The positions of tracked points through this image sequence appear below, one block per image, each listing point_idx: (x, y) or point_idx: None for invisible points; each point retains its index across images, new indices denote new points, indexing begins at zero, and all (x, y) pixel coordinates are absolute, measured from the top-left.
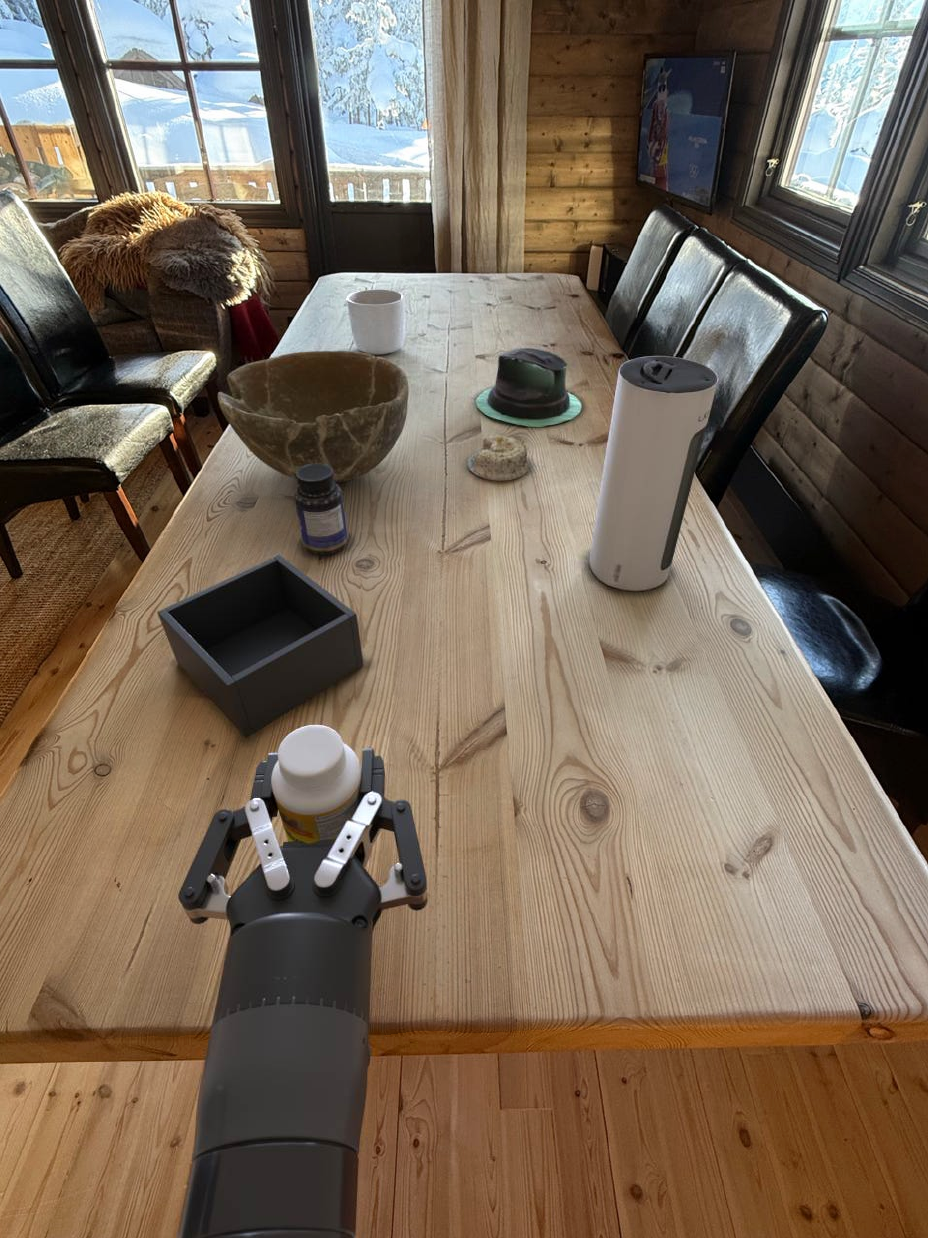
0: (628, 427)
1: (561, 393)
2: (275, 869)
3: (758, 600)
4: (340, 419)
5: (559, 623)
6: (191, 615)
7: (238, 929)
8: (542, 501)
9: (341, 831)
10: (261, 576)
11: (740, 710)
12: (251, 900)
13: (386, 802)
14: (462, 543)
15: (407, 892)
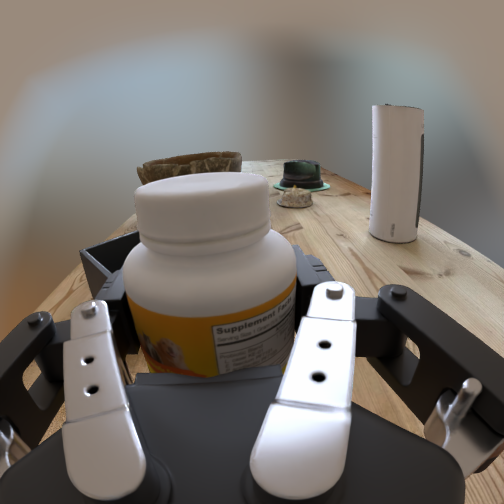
0: (387, 129)
1: (319, 177)
2: (97, 428)
3: (463, 242)
4: (204, 162)
5: (368, 260)
6: (101, 256)
7: None
8: (327, 213)
9: (298, 335)
10: None
11: (491, 288)
12: (40, 500)
13: (357, 300)
14: (285, 230)
15: (500, 434)
